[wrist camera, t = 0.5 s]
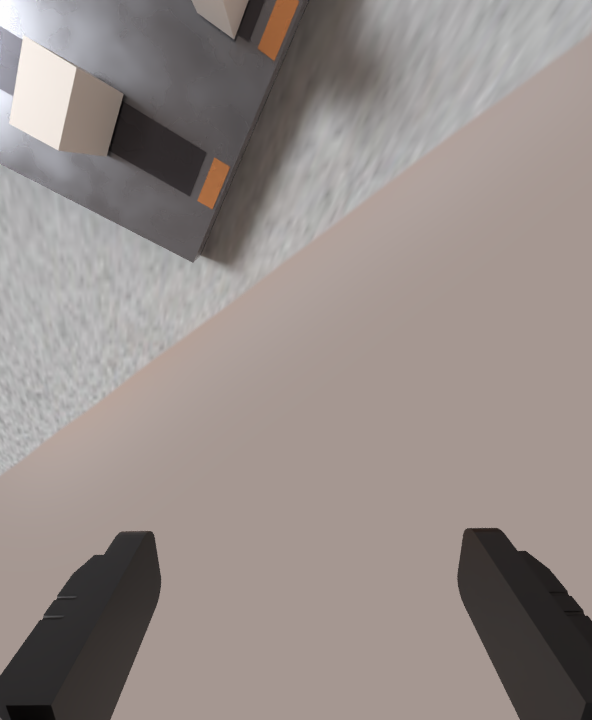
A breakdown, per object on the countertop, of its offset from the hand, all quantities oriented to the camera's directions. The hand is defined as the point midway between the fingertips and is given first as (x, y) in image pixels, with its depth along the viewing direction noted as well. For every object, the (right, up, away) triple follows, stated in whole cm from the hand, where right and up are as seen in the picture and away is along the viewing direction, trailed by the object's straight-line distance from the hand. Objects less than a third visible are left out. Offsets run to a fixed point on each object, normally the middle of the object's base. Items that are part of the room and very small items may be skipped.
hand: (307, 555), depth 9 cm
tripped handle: (-13, +21, +14) cm, 29 cm away
